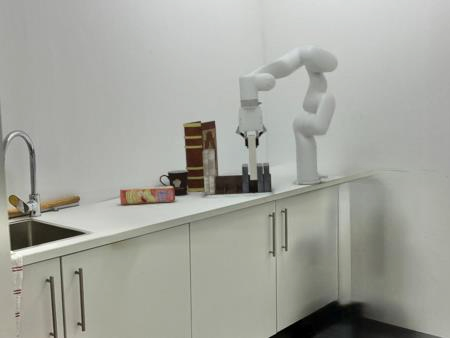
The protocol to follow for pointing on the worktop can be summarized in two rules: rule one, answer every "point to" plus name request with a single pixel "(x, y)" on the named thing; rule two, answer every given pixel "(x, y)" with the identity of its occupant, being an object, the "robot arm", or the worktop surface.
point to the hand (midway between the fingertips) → (252, 147)
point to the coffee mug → (178, 181)
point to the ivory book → (252, 157)
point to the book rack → (234, 178)
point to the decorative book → (198, 151)
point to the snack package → (147, 195)
